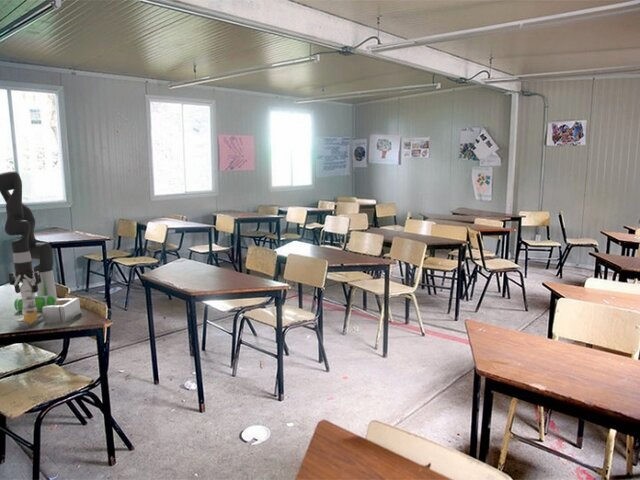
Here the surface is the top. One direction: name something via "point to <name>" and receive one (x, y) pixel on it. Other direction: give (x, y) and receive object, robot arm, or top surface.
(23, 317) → the mat
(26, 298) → the plastic bottle
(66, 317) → the small white box
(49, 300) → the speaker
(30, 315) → the orange rounded block
